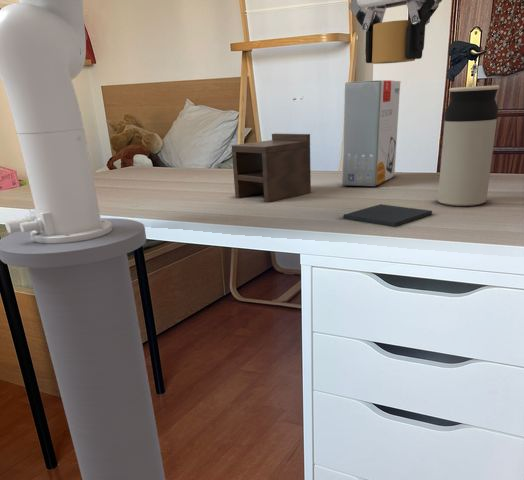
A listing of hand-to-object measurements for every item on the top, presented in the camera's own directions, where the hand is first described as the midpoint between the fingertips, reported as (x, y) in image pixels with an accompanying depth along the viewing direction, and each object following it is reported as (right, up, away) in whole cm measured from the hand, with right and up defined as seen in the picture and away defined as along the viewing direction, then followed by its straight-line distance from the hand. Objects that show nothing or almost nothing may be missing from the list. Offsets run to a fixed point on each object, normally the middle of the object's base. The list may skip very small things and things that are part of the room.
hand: (393, 59), depth 75 cm
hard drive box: (+5, -4, +42) cm, 42 cm away
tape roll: (0, 0, 0) cm, 0 cm away
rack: (-17, -10, +33) cm, 38 cm away
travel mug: (+16, -16, +16) cm, 28 cm away
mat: (+1, -20, +9) cm, 22 cm away
